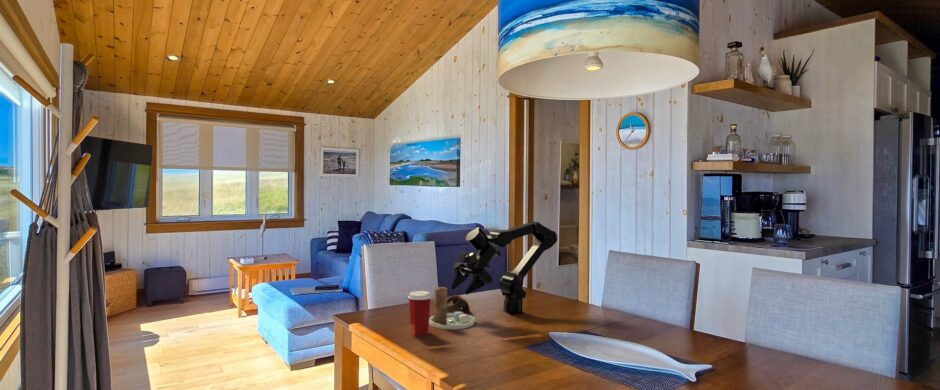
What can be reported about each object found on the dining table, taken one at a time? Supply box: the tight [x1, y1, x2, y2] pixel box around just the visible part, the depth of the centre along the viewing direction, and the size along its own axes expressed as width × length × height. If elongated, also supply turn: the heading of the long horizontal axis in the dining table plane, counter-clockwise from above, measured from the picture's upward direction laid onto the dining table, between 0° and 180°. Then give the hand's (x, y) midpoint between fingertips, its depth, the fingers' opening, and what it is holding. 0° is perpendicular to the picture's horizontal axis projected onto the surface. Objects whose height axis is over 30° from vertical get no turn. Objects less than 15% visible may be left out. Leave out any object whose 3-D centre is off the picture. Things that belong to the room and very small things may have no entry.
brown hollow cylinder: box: [447, 294, 471, 314], centre depth 193 cm, size 12×10×8 cm
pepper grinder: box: [433, 286, 448, 325], centre depth 176 cm, size 4×4×13 cm
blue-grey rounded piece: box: [453, 311, 465, 321], centre depth 182 cm, size 4×4×2 cm
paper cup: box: [407, 290, 432, 338], centre depth 166 cm, size 8×8×14 cm
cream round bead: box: [459, 313, 470, 324], centre depth 178 cm, size 4×4×2 cm
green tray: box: [429, 312, 476, 330], centre depth 178 cm, size 16×16×2 cm
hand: (458, 291), depth 180 cm, fingers open, 9 cm apart
